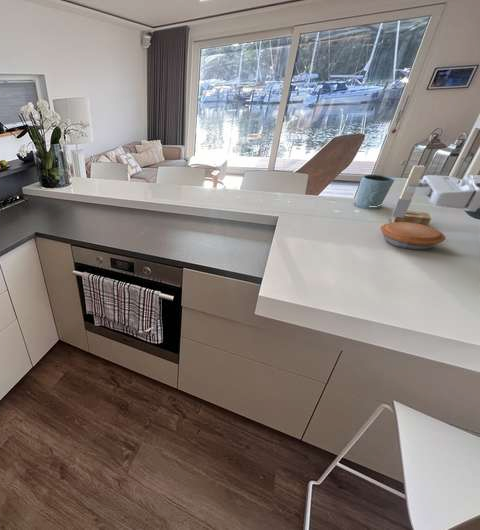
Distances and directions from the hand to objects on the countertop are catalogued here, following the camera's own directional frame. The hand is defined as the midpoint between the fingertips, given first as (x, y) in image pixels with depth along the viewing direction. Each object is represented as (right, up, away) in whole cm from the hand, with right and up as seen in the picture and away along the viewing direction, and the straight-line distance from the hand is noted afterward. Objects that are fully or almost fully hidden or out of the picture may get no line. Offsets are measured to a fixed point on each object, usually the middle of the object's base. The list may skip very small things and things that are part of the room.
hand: (406, 187), depth 88 cm
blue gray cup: (+18, +1, +35) cm, 39 cm away
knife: (+2, -8, +4) cm, 10 cm away
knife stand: (+17, -9, +17) cm, 26 cm away
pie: (+6, -17, +6) cm, 19 cm away
